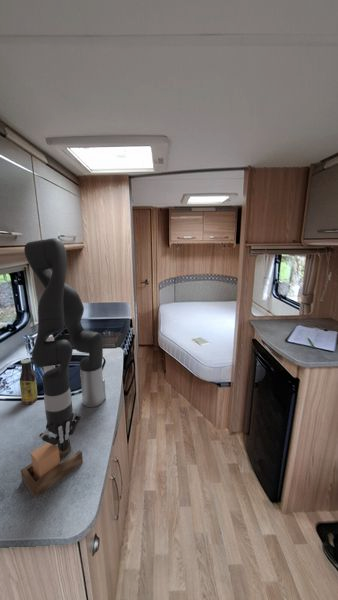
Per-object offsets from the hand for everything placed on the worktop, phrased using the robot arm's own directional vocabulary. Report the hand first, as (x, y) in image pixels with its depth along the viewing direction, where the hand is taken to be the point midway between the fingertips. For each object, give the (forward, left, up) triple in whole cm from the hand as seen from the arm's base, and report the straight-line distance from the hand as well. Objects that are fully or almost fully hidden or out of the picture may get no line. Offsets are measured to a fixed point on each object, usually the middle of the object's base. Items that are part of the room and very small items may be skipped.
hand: (63, 449), depth 79 cm
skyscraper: (-21, -50, -6) cm, 55 cm away
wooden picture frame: (+3, 0, -6) cm, 6 cm away
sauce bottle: (-7, -42, -6) cm, 43 cm away
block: (+6, 0, -5) cm, 8 cm away
